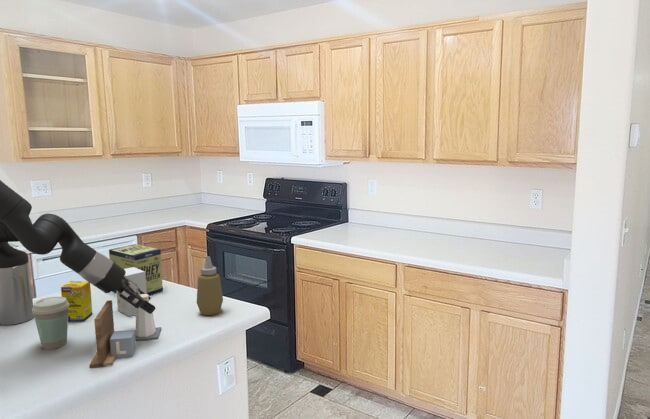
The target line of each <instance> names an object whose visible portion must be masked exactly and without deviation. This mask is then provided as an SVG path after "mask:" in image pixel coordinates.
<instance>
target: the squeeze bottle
mask: <svg viewBox="0 0 650 419" xmlns="http://www.w3.org/2000/svg"><path fill="white" fill-rule="evenodd" d="M211 259H212V258H211V256H210V255H209V256H206V257H205V261H204V266H203V267H200V275H199V276H197V288H196V290H197V291H196V305H197V307H198V309H199V312H200V314H201V315H203V316H215V315H217V314H219V313H220V312H221V309H222V305H223V302H224V296H223V288H222V285H221V283H222V282H221V276H220V274H219V273H217V267H216V266H214V265H213V263H212V260H211Z"/></svg>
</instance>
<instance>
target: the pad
mask: <svg viewBox="0 0 650 419" xmlns="http://www.w3.org/2000/svg"><path fill="white" fill-rule="evenodd" d="M155 328H156V332H155V333H154V334H153V335H151V336H148V337H138V336H137V335H135V339H136V342H144V341H145V342H146V341H156V340H159V338H160V335H161V332H162V327H161V326H159V327H155Z"/></svg>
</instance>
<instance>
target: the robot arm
mask: <svg viewBox="0 0 650 419" xmlns="http://www.w3.org/2000/svg"><path fill="white" fill-rule="evenodd" d="M32 208H33V207H32V204H31V203H30V202H29V201H28V200H26V199H25V198H24V197H23V196H22V195H20V194H18V192H16V191H15V190H14V189H12V188H11V187H9V185H7V184H6V183H5V182H3V181H2V180H1V179H0V325H2V326H12V325H17V324H18V325H19V324H23V323H25V322H28V321H31V320H32V319H34V318H35V317H34V313H32V308H33V305H34V301H33V292H32V291H33V290H32V282H31V272H30V262H29V255H28V253H27V252H26V251H23V250H21V249H18V248H15V247H13V246H12V245H11V244H9V243H13V242H14V243H15V242H19V243H20V244H21V245H22V246H23V247H24V248H25V249H26V250H27V251H28V252H31V253H32V254H35V255H42V256H43V255H48V254H49V253H51V252H52V251H53V250H54V249H55V247H56V246H57V245H58V244H59V245H60V247H61V253H60V256H59V260H60V262H61V263H62V264H63V265H64V266H65V267H67V268H69V269H70V270H71V271H73V272H75V273H76V274H78V275H79V276H80V277H81V278H82V279H84V280H85V281H88V282H89V283H90V285H92V286H94V287H95V288H97V289H98V290H100V291H102V292H103V293H105V294H110V293H113V292H112V290H115V289H116V290H117V291H118V292H119V293H118V294H119V296H120V297H121V298H123V299H124V300H126V301H127V302H129V303H130V304H131V305H133V306H134V307H135V308H139V307H140V308H142V309H143V310H145V311H146V312H148V313H149V314H151V313H152V312H153V313H154V311H155V310H156V306H155V305H153V303H151V302H148V301H150V300H151V296H149V297H148V298H149V300H148V301H146V300H145V299H144V298H143V297H141V296H140V295H141V294H146V293H144V292H143V291H141V289H140V288H139V287H138V286H137V284H134V283H133V282H132V281H130V280H129V279H127V278H126V277H124V276H125V273H126V271H125V270H124V269H123V268H121V267H120V266H119V265H117V264H116V263H114V262H113V261H112V260H110V258H109V257H108V256H106V255H104V254H103V253H100V252H99V251H98V250H95V249H94V248H92V247H91V246H90V245H88V244H87V243H85V242H84V241H83V240H82V239H81V237H80V236H79V234H77V233H76V231H75V230H74V229H73V227H71V225H70V224H69V223H68V222H67V220H65V219H64V218H63V217H61V216H59V215H57V214H55V213H44V214H41V215H40V216H39V217H38V218H37V219H36V220H35V222H33V221H32V219H31V218H30V215H31V212H32ZM32 222H33V223H32ZM136 298H137V299H138V300H139V301H138V302H137V303H136V302H135V299H136Z"/></svg>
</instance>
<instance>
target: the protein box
mask: <svg viewBox="0 0 650 419" xmlns="http://www.w3.org/2000/svg"><path fill="white" fill-rule="evenodd" d="M161 250H162V249H160V248H156V247H150V246H146V245H142V244H141V245H140V244H136V243H134V244H130V245H125V246H120V247H114V248H110V249H108V254H109V257H108V258H109V259H110V260H112V261H113V262H114V263H116V264H117V265H119V266H120V267H121V268H123V269H126V268H131V267H135V268H137V269H140V270H142V271H145V275H146V290H147V294H148V295H149V296H150V297H151V296H153V295H156V294H159V293H163V292H164V290H163V274H162V273H163V270H162V252H161ZM111 293H116V294H117V292H116V289H115V290H112V292H111Z"/></svg>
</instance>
